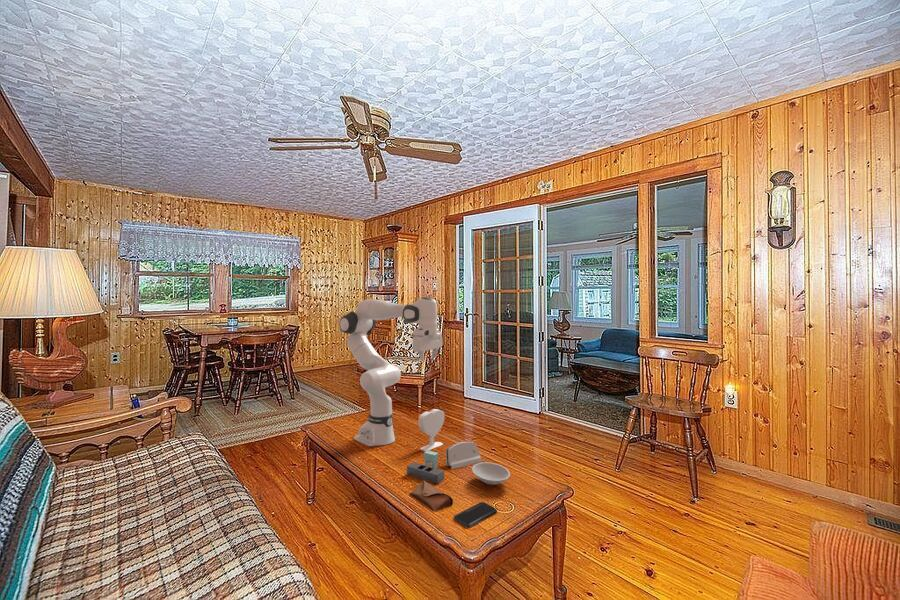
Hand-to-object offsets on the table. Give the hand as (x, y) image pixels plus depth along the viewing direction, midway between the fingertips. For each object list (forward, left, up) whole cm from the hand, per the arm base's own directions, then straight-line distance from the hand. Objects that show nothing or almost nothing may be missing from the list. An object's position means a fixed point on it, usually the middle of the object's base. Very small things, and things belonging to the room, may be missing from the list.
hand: (428, 359), depth 192 cm
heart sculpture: (-4, +9, -47) cm, 47 cm away
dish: (+39, -10, -47) cm, 61 cm away
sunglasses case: (+25, -34, -47) cm, 63 cm away
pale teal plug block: (+9, -10, -46) cm, 48 cm away
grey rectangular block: (+13, -20, -46) cm, 52 cm away
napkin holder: (+19, +1, -47) cm, 50 cm away
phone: (+45, -34, -47) cm, 73 cm away
